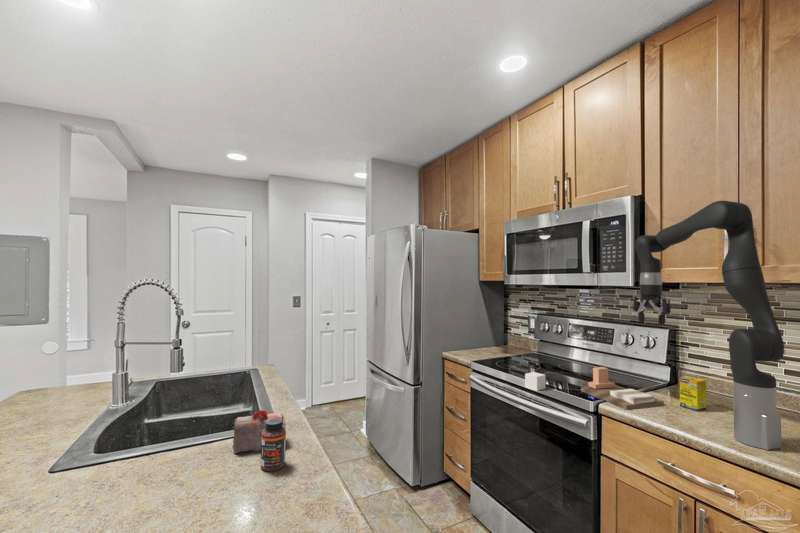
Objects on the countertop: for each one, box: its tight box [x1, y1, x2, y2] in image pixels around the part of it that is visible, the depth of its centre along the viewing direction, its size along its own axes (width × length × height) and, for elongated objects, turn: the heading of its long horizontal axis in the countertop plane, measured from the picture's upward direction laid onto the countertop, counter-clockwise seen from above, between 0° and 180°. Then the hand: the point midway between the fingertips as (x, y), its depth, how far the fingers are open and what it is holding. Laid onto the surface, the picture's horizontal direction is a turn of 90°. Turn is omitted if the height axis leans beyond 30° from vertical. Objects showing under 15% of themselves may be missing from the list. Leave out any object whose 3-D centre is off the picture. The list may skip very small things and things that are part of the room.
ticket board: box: [580, 384, 665, 410], centre depth 147 cm, size 22×18×4 cm
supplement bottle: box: [260, 418, 287, 472], centre depth 93 cm, size 6×6×11 cm
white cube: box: [524, 371, 546, 392], centre depth 160 cm, size 6×6×6 cm
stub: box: [587, 366, 616, 389], centre depth 156 cm, size 4×10×8 cm, turn 106°
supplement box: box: [679, 375, 707, 412], centre depth 137 cm, size 6×6×11 cm
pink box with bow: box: [232, 409, 287, 454], centre depth 103 cm, size 14×8×10 cm, turn 115°
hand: (651, 323), depth 150 cm, fingers open, 8 cm apart
